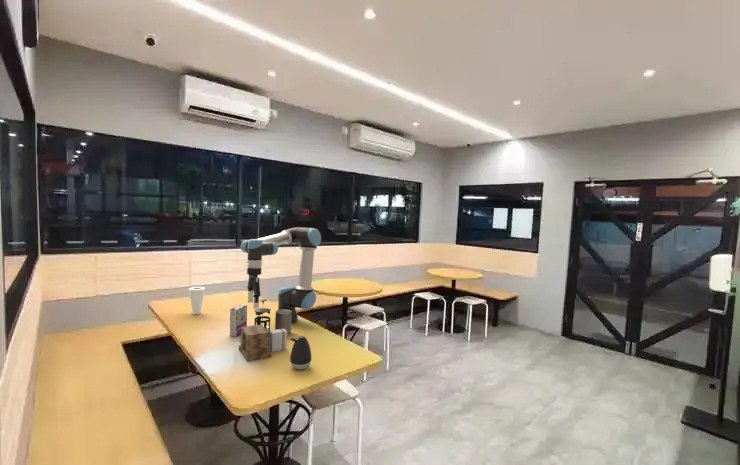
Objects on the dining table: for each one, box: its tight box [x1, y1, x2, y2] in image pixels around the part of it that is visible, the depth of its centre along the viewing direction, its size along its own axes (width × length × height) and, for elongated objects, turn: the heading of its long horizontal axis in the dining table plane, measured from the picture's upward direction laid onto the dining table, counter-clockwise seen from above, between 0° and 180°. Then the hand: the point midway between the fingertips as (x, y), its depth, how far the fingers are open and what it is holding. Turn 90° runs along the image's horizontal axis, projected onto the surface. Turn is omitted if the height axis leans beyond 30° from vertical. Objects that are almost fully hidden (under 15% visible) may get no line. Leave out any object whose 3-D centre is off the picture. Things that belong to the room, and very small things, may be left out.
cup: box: [188, 286, 206, 315], centre depth 249 cm, size 11×11×18 cm
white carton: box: [270, 329, 288, 353], centre depth 192 cm, size 8×5×10 cm, turn 123°
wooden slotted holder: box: [238, 324, 272, 362], centre depth 185 cm, size 13×18×12 cm
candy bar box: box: [229, 304, 248, 337], centre depth 213 cm, size 11×5×16 cm, turn 168°
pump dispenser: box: [289, 335, 312, 371], centre depth 170 cm, size 10×10×15 cm
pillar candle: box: [274, 309, 292, 336], centre depth 217 cm, size 10×10×15 cm
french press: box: [253, 298, 272, 332], centre depth 207 cm, size 12×9×23 cm
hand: (253, 305), depth 196 cm, fingers open, 13 cm apart
